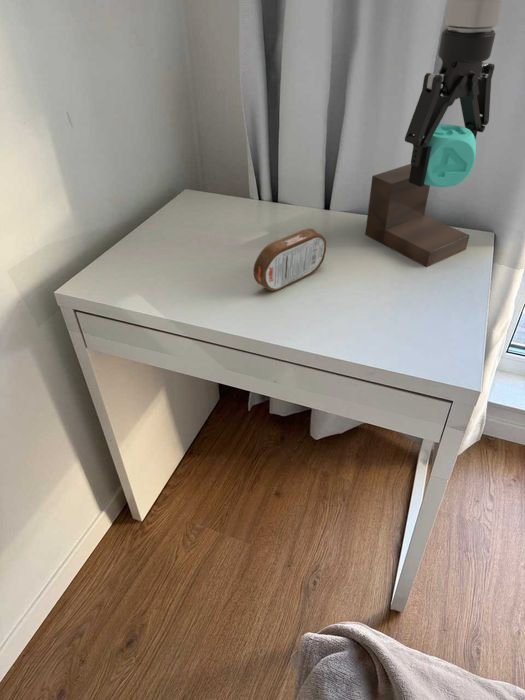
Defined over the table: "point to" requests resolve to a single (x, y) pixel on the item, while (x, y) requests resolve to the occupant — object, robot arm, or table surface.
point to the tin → (289, 259)
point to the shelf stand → (409, 220)
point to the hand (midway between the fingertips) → (438, 176)
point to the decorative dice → (450, 156)
